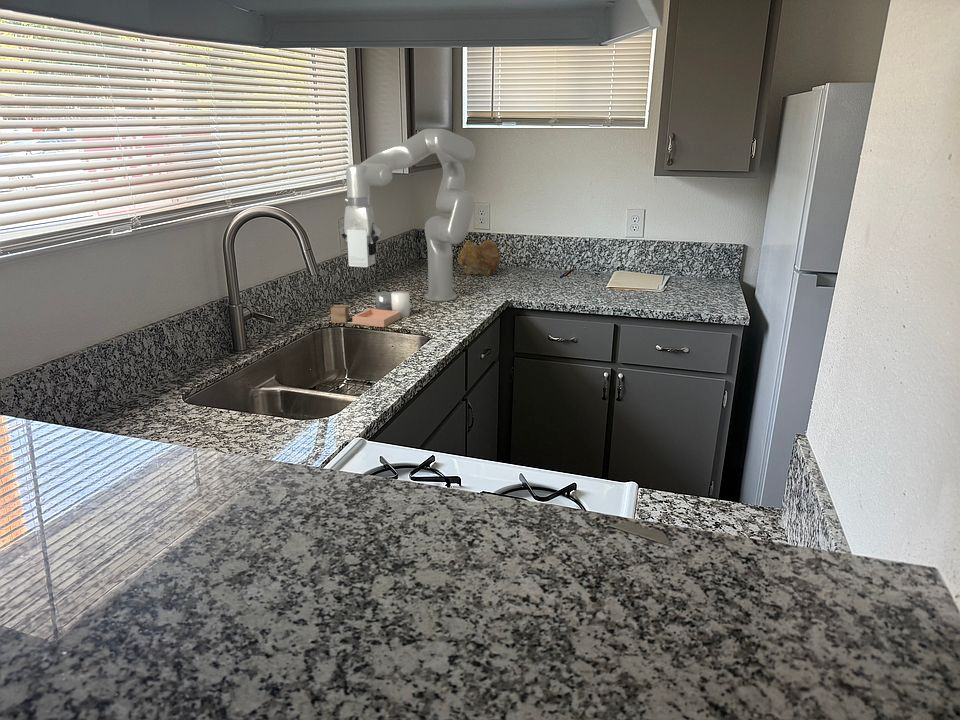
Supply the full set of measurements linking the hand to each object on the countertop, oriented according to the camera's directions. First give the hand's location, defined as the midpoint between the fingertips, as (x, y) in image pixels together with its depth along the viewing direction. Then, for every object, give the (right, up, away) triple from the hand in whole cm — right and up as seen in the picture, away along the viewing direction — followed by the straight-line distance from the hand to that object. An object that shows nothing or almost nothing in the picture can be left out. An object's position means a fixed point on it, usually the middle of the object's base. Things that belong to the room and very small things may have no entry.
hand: (361, 253), depth 242 cm
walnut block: (-7, -23, -1) cm, 25 cm away
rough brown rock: (+43, +2, +77) cm, 88 cm away
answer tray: (+6, -24, -1) cm, 24 cm away
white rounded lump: (+13, -21, +7) cm, 26 cm away
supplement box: (0, -4, +1) cm, 4 cm away
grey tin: (+6, -19, +14) cm, 24 cm away
